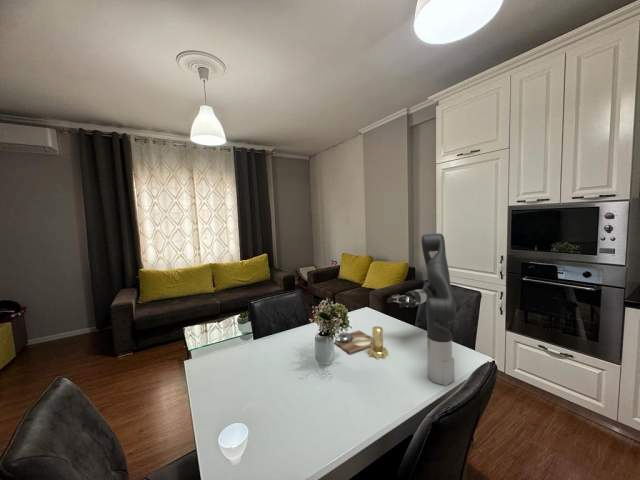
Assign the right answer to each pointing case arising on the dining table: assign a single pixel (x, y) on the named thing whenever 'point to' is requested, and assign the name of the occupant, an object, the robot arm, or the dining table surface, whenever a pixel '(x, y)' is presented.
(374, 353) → the cylinder
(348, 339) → the gear
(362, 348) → the gear board
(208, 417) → the dining table surface
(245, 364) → the dining table surface
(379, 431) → the dining table surface
